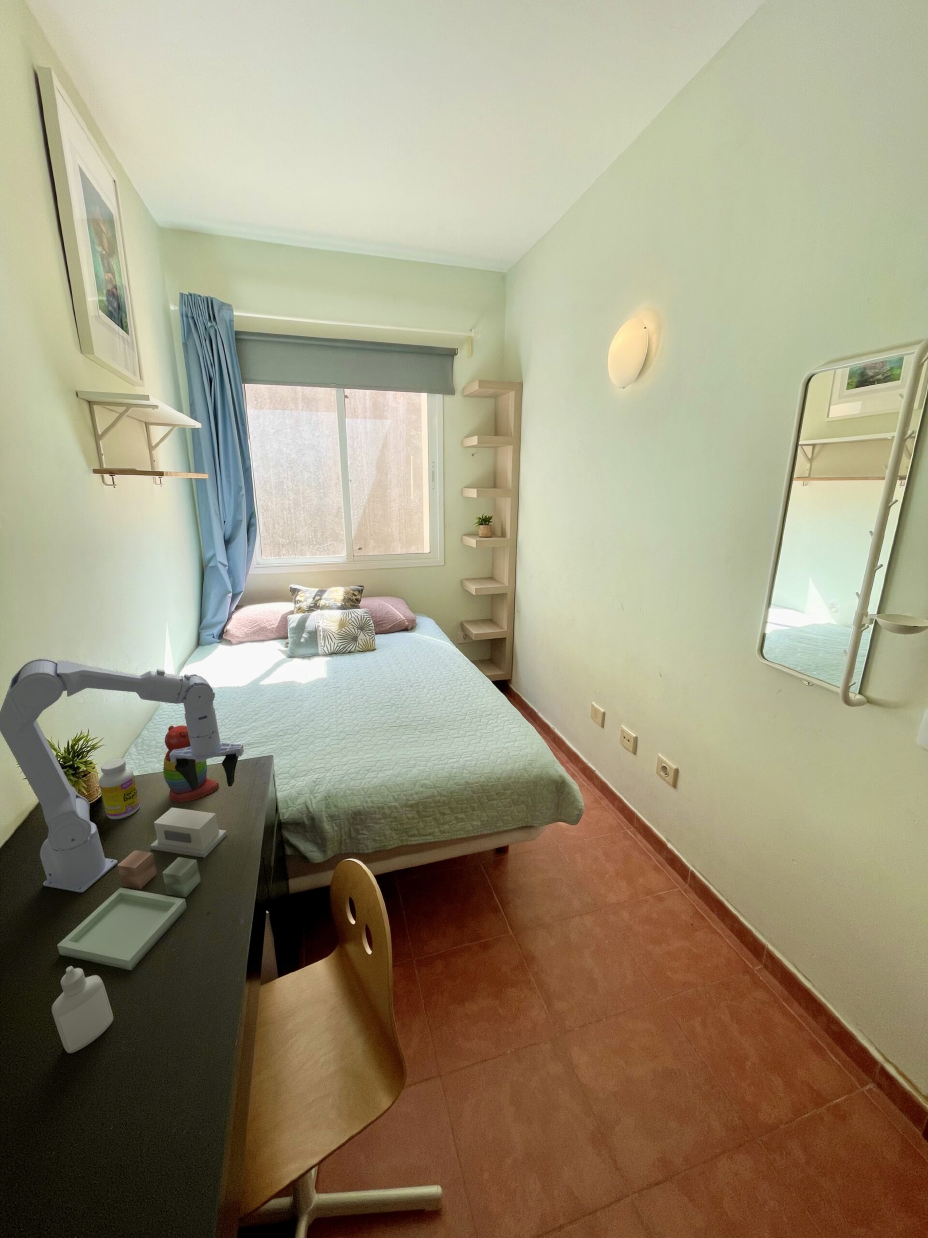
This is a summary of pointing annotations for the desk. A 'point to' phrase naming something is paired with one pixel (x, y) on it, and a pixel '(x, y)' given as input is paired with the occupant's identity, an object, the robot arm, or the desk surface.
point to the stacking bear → (174, 779)
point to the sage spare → (181, 877)
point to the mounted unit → (187, 832)
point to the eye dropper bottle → (81, 1009)
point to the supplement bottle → (118, 789)
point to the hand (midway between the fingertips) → (213, 785)
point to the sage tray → (123, 928)
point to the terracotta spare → (137, 869)
